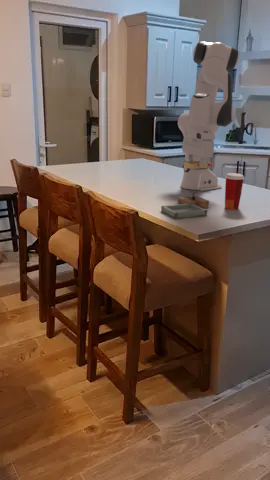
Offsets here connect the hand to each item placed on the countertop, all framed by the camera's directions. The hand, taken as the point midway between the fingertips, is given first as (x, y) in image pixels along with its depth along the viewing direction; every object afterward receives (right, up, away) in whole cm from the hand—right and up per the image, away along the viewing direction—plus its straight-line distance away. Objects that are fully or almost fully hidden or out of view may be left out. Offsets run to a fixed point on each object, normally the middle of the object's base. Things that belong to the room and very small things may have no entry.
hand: (195, 165), depth 190 cm
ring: (0, -1, 0) cm, 1 cm away
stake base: (0, -17, +6) cm, 18 cm away
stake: (-1, -14, +5) cm, 15 cm away
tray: (-6, -21, -8) cm, 24 cm away
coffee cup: (+16, -18, +4) cm, 25 cm away
